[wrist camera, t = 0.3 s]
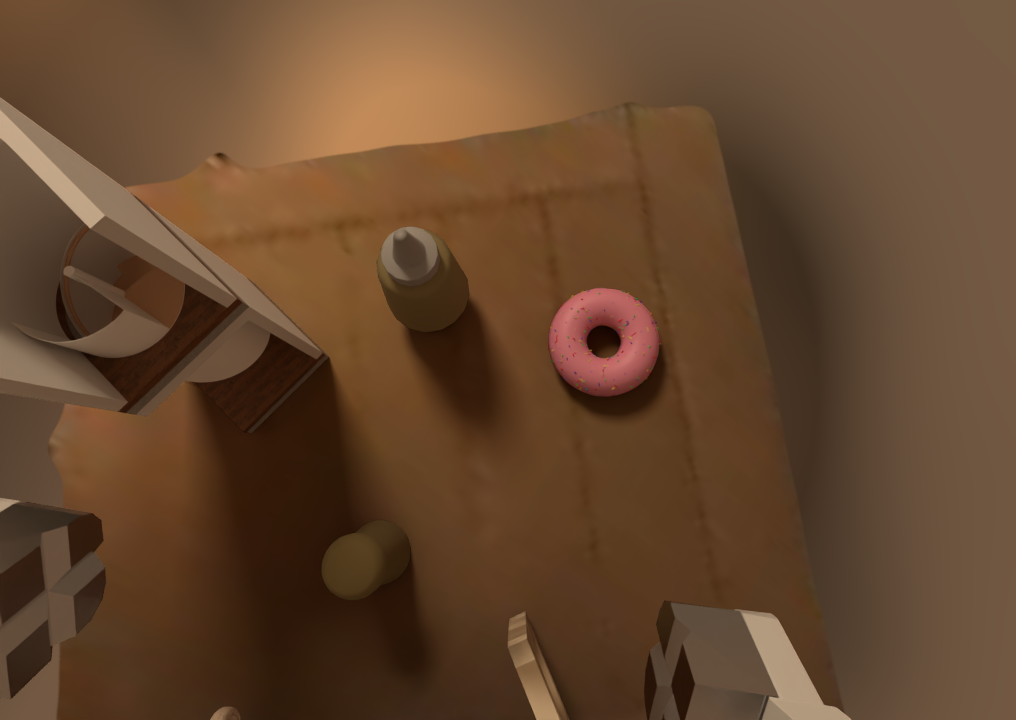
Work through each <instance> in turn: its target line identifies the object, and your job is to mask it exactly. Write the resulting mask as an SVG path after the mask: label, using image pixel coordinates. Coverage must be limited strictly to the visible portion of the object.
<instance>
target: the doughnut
mask: <svg viewBox="0 0 1016 720" xmlns="http://www.w3.org/2000/svg"><path fill="white" fill-rule="evenodd" d="M641 302H642V301H638V299H637V298H634V297H632V296H631V295H629V292H628V293H625V292H624V291H621V290H620V291H619V290H615V289H606V288H597V289H592V290H588V291H585V292H583V291H582V292H581V293H579V294H577V295H575V296H573V295H572V297H571V298H570V299H569V300H568V301H566V302H565V303H564V304H563V305H562V306H561V308H560V309H559V310H558V312H557V313H556V315H555V316H554V318H553V321H552V323H551V326H550V330H549V336H548V347H549V348H548V349H549V352H550V356H551V360H552V361H551V362H552V363H553V365H554V367H555V368H556V370H557V371H558V373H559V374H560V375H561V376H562V378H563V380H565V381H566V382H567V383H569V384H570V385H571V386H572V387H574V388H576V389H578V390H580V391H582V392H584V393H586V394H589V395H593V396H601V397H610V396H616V395H621V394H624V393H626V392H629V391H631V390H633V389H634V388H636V387H637V386H639V385H640V384H642V383H643V381H644V380H645V379H647V377H648V376H649V374H652V372H651V371H652V370H653V368H654V365H655V363H656V360H657V359H658V354H660V353H659V344H661V341H659V340H660V339H659V334H658V330H657V329H659V328H657V327H656V323H657V322H654V320H653V318H652V314H651V313H650V312H649V311H648V310H647V308H646V307H645V306H644V305H643V304H642V303H641ZM601 325H603V326H608V327H611V328H612V329H614V330H615V331H616V332H617V333H618V335H619V337H620V340H621V345H620V346H619V347H618V348H619V350H618V352H617V353H616V354H615V355H613V356H611V357H609V358H600V357H597V356H596V355H594V354H592V353H591V352H590V351H592V350H589V348H588V346H587V337H588V334H589V332H590V331H592V329H593V328H595V327H596V326H601ZM659 342H660V343H659Z"/></svg>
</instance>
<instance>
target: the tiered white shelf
mask: <svg viewBox="0 0 1016 720" xmlns="http://www.w3.org/2000/svg"><path fill="white" fill-rule="evenodd" d="M328 357H329V356H328V355H327V354H326V353H325V352H324V351H323V350H322V349H321V348H320V347H319V346H318V345H317V344H315V343H314V342H313V341H312V340H311V339H310V338H309V337H308V336H307V335H306V334H305V333H304V332H303V331H302V330H301V329H300V328H299V327H298V326H297V325H296V324H295V323H294V322H293V321H292V320H291V319H290V318H289V317H288V316H287V315H286V314H285V313H284V312H283V311H282V310H281V309H280V308H279V307H278V306H277V305H276V304H275V303H274V302H273V301H272V300H271V299H270V298H269V297H268V296H267V295H266V294H265V293H264V292H263V291H262V290H261V289H260V288H259V287H258V286H256V285H255V284H254V283H253V282H252V281H251V280H249V279H248V278H246V277H245V276H244V275H242V274H241V273H240V272H238V271H237V270H235V269H234V268H233V267H231V266H230V265H229V264H227V263H226V262H225V261H223V260H222V259H220V258H219V257H218V256H216V255H215V254H214V253H212V252H211V251H210V250H208V249H207V248H205V247H204V246H203V245H201V244H200V243H199V242H197V241H196V240H194V239H193V238H192V237H190V236H189V235H188V234H186V233H185V232H184V231H182V230H181V229H179V228H178V227H177V226H175V225H174V224H173V223H171V222H170V221H169V220H167V219H166V218H164V217H163V216H162V215H160V214H159V213H158V212H156V211H155V210H153V209H152V208H151V207H149V206H148V205H147V204H145V203H144V202H143V201H141V200H140V199H138V198H137V197H136V196H134V195H133V194H132V193H130V192H129V191H127V190H126V189H125V188H123V187H122V186H121V185H119V184H118V183H116V182H115V181H114V180H112V179H111V178H110V177H108V176H107V175H106V174H104V173H103V172H102V171H100V170H99V169H97V168H96V167H95V166H93V165H92V164H91V163H89V162H88V161H86V160H85V159H84V158H82V157H81V156H80V155H78V154H77V153H75V152H74V151H73V150H71V149H70V148H69V147H67V146H66V145H65V144H63V143H62V142H61V141H59V140H58V139H56V138H55V137H53V136H52V135H51V134H50V133H48V132H47V131H45V130H44V129H43V128H41V127H40V126H39V125H37V124H36V123H35V122H33V121H32V120H30V119H29V118H28V117H26V116H25V115H24V114H22V113H21V112H19V111H18V110H17V109H15V108H14V107H12V106H11V105H10V104H8V103H7V102H6V101H4V100H3V99H2V98H0V393H4V394H10V395H17V396H24V397H30V398H36V399H42V400H48V401H54V402H60V403H67V404H73V405H79V406H85V407H92V408H98V409H104V410H110V411H117V412H123V413H129V414H135V415H142V416H149V415H150V414H151V413H152V412H153V411H154V410H155V409H156V408H157V407H158V406H159V405H160V404H161V403H162V402H163V401H164V400H165V399H166V398H167V397H169V396H170V395H171V394H172V393H173V392H174V391H175V390H176V389H177V388H178V387H179V386H180V385H181V384H182V383H183V382H184V381H189V382H195V383H196V384H197V385H198V386H199V387H200V388H201V389H202V390H203V391H204V392H205V393H206V394H207V395H208V396H209V397H210V398H211V399H212V400H213V401H214V402H215V403H216V404H217V405H218V406H219V407H220V409H221V410H222V411H223V412H224V413H225V414H226V415H227V416H228V417H229V418H230V419H231V420H232V421H233V422H234V423H235V424H236V425H237V426H238V427H239V428H240V429H241V430H242V431H243V432H248V433H252V432H253V431H254V430H256V429H257V428H258V427H259V426H260V425H261V424H262V423H263V422H264V421H265V420H266V419H267V418H268V417H269V416H270V415H271V414H272V413H273V412H274V411H275V410H276V409H277V408H278V407H279V406H280V405H281V404H282V403H283V402H284V401H285V400H286V399H287V398H288V397H289V396H290V395H291V394H292V393H293V392H294V391H295V390H296V389H297V388H298V387H299V386H300V385H301V384H302V383H303V382H304V381H305V380H306V379H307V378H308V377H309V376H310V375H311V374H312V373H313V372H314V371H315V370H316V369H317V368H318V367H319V366H320V365H321V364H322V363H323V362H324V361H325V360H326V359H327V358H328Z"/></svg>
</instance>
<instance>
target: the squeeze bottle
mask: <svg viewBox="0 0 1016 720" xmlns="http://www.w3.org/2000/svg"><path fill="white" fill-rule="evenodd" d="M377 271H378V278H379V281H380V283H381V286H382V289H383V292H384V294H385V297H386V300H387V303H388V305H389V307H390V309H391V311H392V312H393V314H394V316H395V318H396V319H397V320H398V321H400V322H401V323H402V324H404V325H405V326H406V327H408V328H409V329H413V330H417V331H421V332H431V331H438V330H442V329H444V328H445V327H447V326H449V325H451V324H452V323H454V322H455V321H456V320H457V319H458V318H459V316H460V315H461V314H462V313H463V311H464V310H465V308H466V304H467V301H468V297H469V287H468V280H467V277H466V276H465V274H464V272H463V271H462V269H461V267H460V266H459V264H458V262H457V261H456V259H455V257H454V256H453V254H452V253H451V251H450V249H449V248H448V246H447V245H446V243H445V241H444V240H443V239H442V238H440V237H439V236H438V235H436V234H435V233H433V232H432V231H428V230H424V229H420V228H416V227H404V228H400V229H398V230H396V231H395V232H393V233H391V234H390V235H389V236H388V238H387V239H386V240H385V241H384V244H383V247H382V248H381V250H380V253H379V256H378V259H377Z"/></svg>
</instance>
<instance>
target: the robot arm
mask: <svg viewBox="0 0 1016 720" xmlns="http://www.w3.org/2000/svg"><path fill="white" fill-rule="evenodd" d="M103 541H104V540H103V532H102V523H101V520H100V519H99V518H98V517H96V516H95V515H94V514H93V513H87V512H82V511H76V510H70V509H64V508H59V507H53V506H47V505H41V504H35V503H30V502H22V501H17V500H10V499H4V498H0V698H4V699H11V698H13V697H14V696H15V695H16V694H17V693H18V692H19V691H20V690H21V689H22V688H23V687H24V686H25V685H26V684H27V683H28V682H29V681H30V680H31V679H32V678H33V677H34V676H35V675H36V674H37V673H38V672H39V671H40V670H41V669H42V668H43V667H44V666H46V665H47V664H48V663H49V662H50V661H51V657H52V646H54V645H56V644H58V643H60V642H63V641H65V640H67V639H69V638H72V637H74V636H76V635H77V634H78V633H79V632H80V631H81V630H82V629H83V628H84V627H85V626H86V625H87V624H88V623H89V622H90V621H91V619H92V618H93V616H94V614H95V612H96V610H97V608H98V607H99V605H100V603H101V601H102V599H103V594H104V589H105V584H106V575H105V567H104V565H103V564H102V563H101V561H100V560H99V559H98V557H97V556H96V555H95V553H94V552H95V550H96V549H97V548H98V547H99V546H100V544H101V543H102V542H103ZM656 626H657V630H658V634H659V639H660V642H659V643H658V644H657V645H656V646H655V647H653V648H652V649H651V650H650V651H649V656H648V661H647V666H646V670H645V685H644V697H645V709H646V715H647V720H851V719H850V718H849V717H848V716H846V715H845V714H844V713H843V712H841V711H840V710H839V709H838V708H836V707H831V706H825V705H824V704H823V702H822V700H821V698H820V697H819V695H818V693H817V691H816V689H815V687H814V685H813V684H812V682H811V680H810V678H809V676H808V674H807V672H806V671H805V669H804V667H803V665H802V663H801V661H800V659H799V658H798V656H797V654H796V652H795V650H794V648H793V646H792V645H791V643H790V641H789V639H788V637H787V635H786V633H785V632H784V630H783V628H782V626H781V624H780V622H779V621H778V619H777V618H776V617H775V616H773V615H772V614H770V613H762V612H753V611H745V610H729V609H722V608H715V607H708V606H700V605H693V604H686V603H679V602H672V601H665V600H664V602H663V604H662V606H661V608H660V611H659V615H658V619H657V623H656Z"/></svg>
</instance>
